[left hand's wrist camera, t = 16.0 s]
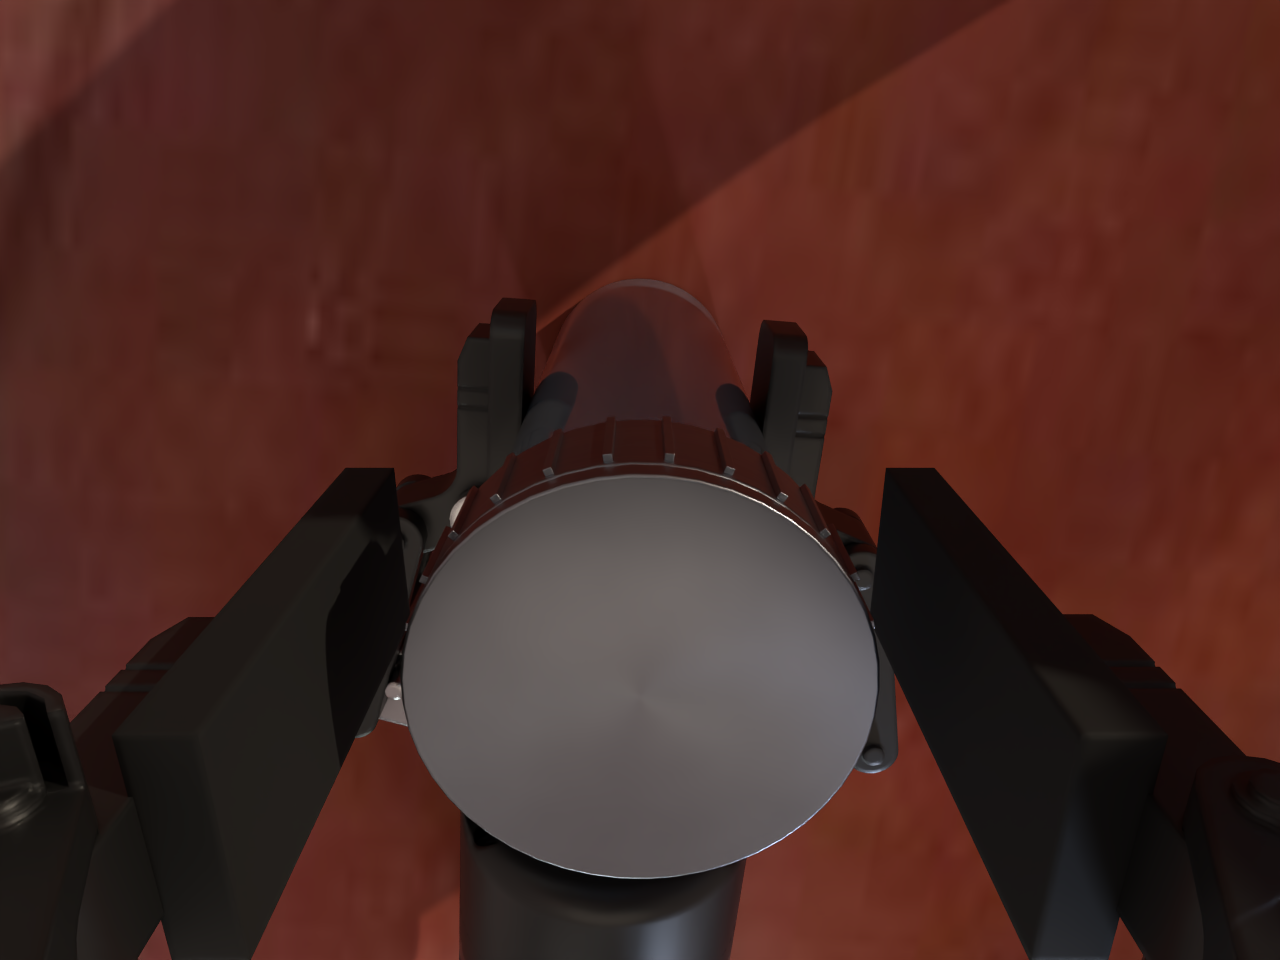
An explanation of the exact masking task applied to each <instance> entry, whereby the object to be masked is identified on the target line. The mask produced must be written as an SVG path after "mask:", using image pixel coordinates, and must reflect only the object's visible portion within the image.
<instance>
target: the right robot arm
mask: <svg viewBox="0 0 1280 960" xmlns="http://www.w3.org/2000/svg"><path fill="white" fill-rule="evenodd" d="M535 341H536V301H535V300H527V299H515V298H502V299H501V301H500V302H499V303H498V304H497V305H496V307H495V308H494V309H493V312H492V316H491V323H490V324H485V323H479V324H478V325H477V327H476V328H475V329H474V330H473V331H472V333H471V334H470V335H469V336H468V338H467V340H466V342H465V345H464V347H463V349H462V352H461V354H460V356H459V359H458V391H457V405H458V409H457V469H456V470H454V471H452V472H451V473H448V474H444V475H441V476H437V477H433V478H431V477H428V476H425V475H411V476H408V477H406V478H405V479H403V480H402V481H401V482H400V483H399V484H398V486H397V487H396V491H397V500H398V509H399V518H400V527H401V536H402V545H403V554H404V563H405V572H406V581H407V590H408V599H409V608H410V613H411V611H412V609H413V607H414V605H415V603H416V600H417V598H418V596H419V594H420V592H421V590H422V588H423V586H424V584H423V583H421V582H419V580H420V578H421V575H422V573H423V571H424V569H425V567H426V565H427V563H428V561H429V559H430V557H431V555H432V552H433V550H434V549H435V547H436V545H437V543H438V541H439V539H440V537H441V535H442V533H443V531H444V529H445V527H446V526H448V527H450V528H452V526H453V524H454V522H455V519H456V517H457V515H458V513H459V511H460V509H461V507H462V505H463V503H464V501H465V498H466V496H467V494H468V492H469V490H470V489H471V488H472V487H473V486H475V487H477V488H478V489H479V488H480V486H481V485H482V484H483V483H485V482H486V481H487V480H488V479H489V478H490V477H491V476H492V475H493V474H494V473H495V472H496V471H497V470H498V469H500V468H501V467H502V466H503V464H504V462H505V459H506V457H507V456H508V455H509V454H510V452H511V450H512V447H513V445H514V442H515V440H516V438H517V435H518V433H519V430H520V428H521V425H522V423H523V420H524V418H525V415H526V413H527V410H528V408H529V405H530V403H531V400H532V398H533V394H534V368H535ZM831 396H832V388H831V384H830V380H829V375H828V371H827V367H826V366H825V365H824V363H823V362H822V361H821V359H820V358H819V357H818V356H817V354H816V353H815V352H814V351H808V341H807V336H806V335H805V333H804V332H803V331H802V330H801V328H800V327H799V326H798V325H797V324H796V323H795V322H783V321H771V320H763V322H762V324H761V328H760V333H759V339H758V347H757V354H756V362H755V369H754V376H753V384H752V391H751V399H750V405H751V408H752V410H753V413H754V415H755V418H756V420H757V423H758V425H759V427H760V430H761V432H762V435H763V437H764V440H765V442H766V445H767V447H768V450H769V452H770V454H771V455H772V458H773V460H774V463H775V465H776V466H778V467H779V468H780V469H781V470H783V471H784V472H785V473H786V474H788V475H789V476H790V477H791V478H792V479H793V480H794V481H795V483H796V484H797V485H798V486H799V487H801V486H802V485H803V484H806V485H807V487H808V488H809V489H810V491H811V493H812V495H813V498H814V497H815V490H816V484H817V479H818V473H819V467H820V461H821V455H822V449H823V443H824V435H825V431H826V425H827V417H828V414H829V408H830V402H831ZM815 502H816V504H817V506H818V508H819V510H820V512H821V514H822V516H823V518H824V521H825V523H826V525H827V526H828V525H830V524H834V526H835V528H836V530H837V532H838V535H839V537H840V539H841V541H842V543H843V545H844V547H845V549H846V551H847V553H848V555H849V557H850V559H851V561H852V563H853V565H854V567H855V569H856V571H857V573H858V575H859V577H860V580H857V581H855V582H856V584H857V586H858V588H859V590H860V592H861V594H862V596H863V598H864V601H865V603H866V605H867V607H868V609H869V611H870V608H871V599H872V590H873V581H874V572H875V563H876V554H877V547H876V545H875V543H874V542H873V540H872V538H871V536H870V535H869V533H868V531H867V529H866V528H865V526H864V524H863V522H862V521H861V519H860V517H859V516H858V515H857V514H856V513H855V512H853V511H852V510H850V509H846V508H834V509H833V508H830V507H828V506H826V505H823V504H821V503H819V502H817V501H816V500H815ZM873 629H874V628H873ZM874 632H875V631H874ZM405 635H406V631H405V633H404V635H403V637H402V639H401V641H400V643H399V645H398V648H397V650H396V652H395V654H394V656H393V658H392V660H391V662H390V665H389V667H388V669H387V671H386V673H385V675H384V677H383V679H382V682H381V684H380V686H379V688H378V690H377V692H376V694H375V696H374V699H373V701H372V703H371V705H370V707H369V709H368V711H367V713H366V716H365V718H364V720H363V722H362V724H361V726H360V728H359V730H358V733H357V735H356V737H355V738H359V737H363V736H366V735H368V734H369V733H371V732H372V731H373V730H374V728H375V727H376V725H377V722H378V720H379V719H381V720H385V721H389V722H392V723H396V724H400V725H404V726H408V724H407V720H406V716H405V711H404V707H403V703H402V692H401V680H400V673H401V659H402V648H403V644H404V640H405ZM875 636H876V643H877V649H878V655H879V661H880V689H879V695H878V702H877V708H876V715H875V718H874V721H873V724H872V728H871V731H870V734H869V737H868V740H867V743H866V745H865V747H864V749H863V751H862V753H861V755H860V757H859V759H858V761H857V763H856V765H855V767H854V768H855V769H856V770H858V771H860V772H864V773H877V772H881V771H883V770H885V769H887V768H888V767H890V766H891V765H892V764H893V763H894V761H895V760H896V758H897V755H898V736H897V717H896V698H895V679H894V671H893V669H892V667H891V665H890V662H889V660H888V658H887V656H886V654H885V652H884V650H883V648H882V645H881V643H880V641H879V639H878V637H877V635H876V633H875ZM745 864H746V858H744V859H742V860H739V861H737V862H734V863H732V864H729V865H725V866H722V867H718V868H715V869H711V870H708V871H704V872H699V873H694V874H688V875H683V876H677V877H665V878H652V879H633V878H614V877H606V876H598V875H590V874H586V873H582V872H577V871H573V870H568V869H564V868H561V867H558V866H555V865H552V864H549V863H546V862H543V861H540V860H538V859H535V858H533V857H531V856H529V855H527V854H525V853H522V852H520V851H518V850H516V849H514V848H512V847H510V846H509V845H507V844H505V843H504V842H502V841H500V840H499V839H497V838H495V837H494V836H492V835H490V834H489V833H487V832H486V831H485V830H484V829H482V828H481V827H480V826H478V825H477V824H476V823H475V822H473V821H472V820H471V819H469V818H468V817H467V816H466V815H465V814H464V813H463V812H462V811H461V825H460V926H459V960H730V954H731V948H732V942H733V936H734V930H735V924H736V918H737V912H738V906H739V900H740V894H741V888H742V882H743V876H744V870H745Z"/></svg>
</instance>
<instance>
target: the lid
mask: <svg viewBox="0 0 1280 960" xmlns="http://www.w3.org/2000/svg"><path fill="white" fill-rule="evenodd" d="M857 580H860V577H859V575H858V573H857V571H856V569H855V567H854V565H853V563H852V561H851V559H850V557H849V555H848V553H847V551H846V549H845V547H844V545H843V543H842V541H841V539H840V537H839V535H838V532H837V530H836V528H835V526H834V524H830V525H828V526H827V525H826V523H825V521H824V518H823V516H822V514H821V512H820V510H819V508H818V506H817V504H816V502H815V500H814V498H813V495H812V493H811V491H810V489H809V488H808V487H807V485H806V484H803V485H802V486H801V487H799V486H798V485H797V484H796V483H795V481H794V480H793V479H792V478H791V477H790V476H789V475H788V474H786V473H785V472H784V471H783V470H781V469H780V468H779V467H778V466H776V465H775V463H774V460H773V458H772V455H771V454H770V453H768V452H767V451H764V452H763V454H762V455H761V454H759V453H758V452H756V451H754V450H753V449H751V448H749V447H748V446H746V445H744V444H742V443H740V442H738V441H735V440H733V439H731V438H728V437H726V435H725V432H724V430H723V429H720V428H716V430H715V432H713V431H709V430H706V429H702V428H699V427H695V426H692V425H687V424H681V423H674V422H671V417H668V416H662V421H660V420H624V421H616V419H615V416H612V417H607V420H606V422H603V423H599V424H594V425H590V426H586V427H581V428H577V429H573V430H570V431H568V432H565V433H563V431H562V429H558V430H555V431H554V432H553V435H552V437H551V438H549V439H546V440H545V441H543V442H541V443H539V444H537V445H535V446H533V447H531V448H529V449H527V450H525V451H523V452H522V453H520V454H519V455H518V456H516V455H515V454H514V453H513V452H512V453H511V454H509V455H508V456H507V457H506V459H505V462H504V464H503V466H502V467H501V468H500V469H498V470H497V471H496V472H495V473H494V474H493V475H492V476H491V477H490V478H489V479H488V480H487V481H486V482H485V483H483V484H482V485H481V486H480V488H479V489H478V488H477V487H475V486H473V487H472V488H471V489H470V490H469V492H468V494H467V496H466V498H465V501H464V503H463V505H462V507H461V509H460V511H459V513H458V515H457V517H456V519H455V522H454V524H453V526H452V528H450V527H448V526H446V527H445V529H444V531H443V533H442V535H441V537H440V539H439V541H438V543H437V545H436V547H435V549H434V551H433V553H432V555H431V557H430V559H429V561H428V563H427V565H426V567H425V569H424V571H423V573H422V575H421V578H420V580H419V582H421V583H423V584H424V586H423V588H422V590H421V592H420V594H419V596H418V598H417V600H416V603H415V605H414V607H413V609H412V611H411V613H410V615H409V617H408V619H407V621H406V624H405V631H406V635H405V640H404V644H403V648H402V659H401V673H400V680H401V692H402V703H403V707H404V711H405V716H406V720H407V724H408V728H409V731H410V734H411V736H412V739H413V741H414V744H415V746H416V748H417V751H418V753H419V755H420V757H421V759H422V761H423V762H424V764H425V766H426V767H427V769H428V771H429V773H430V774H431V776H432V778H433V779H434V780H435V781H436V783H437V784H438V785H439V787H440V788H441V789H442V790H443V792H444V793H445V794H446V796H447V797H448V798H449V799H450V800H451V801H452V802H453V803H454V804H455V805H456V806H457V807H458V808H459V809H460V810H461V811H462V812H463V813H464V814H465V815H466V816H467V817H468V818H469V819H471V820H472V821H473V822H475V823H476V824H477V825H478V826H480V827H481V828H482V829H484V830H485V831H486V832H487V833H489V834H490V835H492V836H494V837H495V838H497V839H499V840H500V841H502V842H504V843H505V844H507V845H509V846H510V847H512V848H514V849H516V850H518V851H520V852H522V853H525V854H527V855H529V856H531V857H533V858H535V859H538V860H540V861H543V862H546V863H549V864H552V865H555V866H558V867H561V868H564V869H568V870H573V871H577V872H582V873H586V874H590V875H598V876H606V877H614V878H633V879H652V878H665V877H677V876H683V875H688V874H694V873H699V872H704V871H708V870H711V869H715V868H718V867H722V866H725V865H729V864H732V863H734V862H737V861H739V860H742V859H744V858H747V857H749V856H751V855H754V854H756V853H758V852H760V851H762V850H764V849H766V848H768V847H769V846H771V845H773V844H775V843H777V842H779V841H781V840H782V839H784V838H785V837H786V836H788V835H789V834H791V833H792V832H794V831H795V830H797V829H798V828H799V827H801V826H802V825H804V824H805V823H806V822H807V821H808V820H809V819H810V818H812V817H813V816H814V815H815V814H816V813H817V812H818V811H819V810H821V809H822V808H823V807H824V806H825V805H826V803H827V802H828V801H829V800H830V799H831V798H832V797H833V795H834V794H835V793H836V792H837V791H838V790H839V789H840V787H841V786H842V785H843V783H844V782H845V780H846V779H847V777H848V776H849V774H850V773H851V771H852V770H853V768H854V767H855V765H856V763H857V761H858V759H859V757H860V755H861V753H862V751H863V749H864V747H865V745H866V743H867V740H868V737H869V734H870V731H871V728H872V724H873V721H874V718H875V715H876V708H877V702H878V695H879V689H880V661H879V655H878V649H877V643H876V636H875V632H874V629H873V628H875V622H874V619H873V617H872V615H871V613H870V611H869V609H868V607H867V605H866V603H865V601H864V598H863V596H862V594H861V592H860V590H859V588H858V586H857V584H856V582H855V581H857Z"/></svg>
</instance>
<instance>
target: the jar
mask: <svg viewBox="0 0 1280 960" xmlns="http://www.w3.org/2000/svg"><path fill="white" fill-rule="evenodd" d="M612 416H615V419H616V421H624V420H660V421H662V416H668V417H671V422H674V423H681V424H687V425H692V426H695V427H699V428H702V429H706V430H709V431H713V432H715V430H716V428H720V429H723V430H724V432H725V435H726V437H728V438H731V439H733V440H735V441H738V442H740V443H742V444H744V445H746V446H748V447H749V448H751V449H753V450H754V451H756V452H758V453H759V454H761V455H762V454H763V452H764V451H767V452H768V453H770V452H769V450H768V447H767V445H766V442H765V440H764V437H763V435H762V432H761V430H760V427H759V425H758V423H757V420H756V418H755V415H754V413H753V410H752V408H751V405H750V403H749V400H748V398H747V395H746V393H745V391H744V388H743V386H742V383H741V381H740V378H739V376H738V373H737V371H736V368H735V366H734V364H733V361H732V359H731V356H730V354H729V351H728V349H727V346H726V344H725V341H724V339H723V337H722V334H721V332H720V330H719V328H718V326H717V324H716V322H715V320H714V319H713V317H712V316H711V314H710V313H709V311H708V310H707V309H706V308H705V307H704V306H703V305H702V304H701V303H700V302H699V301H698V300H697V299H695V298H694V297H693V296H692V295H690V294H689V293H687V292H685V291H684V290H682V289H680V288H678V287H676V286H674V285H671V284H668V283H665V282H662V281H657V280H651V279H629V280H623V281H618V282H614V283H611V284H609V285H606V286H604V287H601V288H600V289H598V290H596V291H594V292H592V293H591V294H589V295H588V296H587V297H585V298H584V299H583V300H582V301H581V302H580V303H579V304H578V305H577V306H576V307H575V308H574V309H573V310H572V311H571V313H570V314H569V315H568V316H567V318H566V320H565V321H564V323H563V325H562V327H561V329H560V331H559V334H558V336H557V338H556V341H555V343H554V346H553V348H552V351H551V353H550V356H549V358H548V361H547V363H546V366H545V368H544V371H543V373H542V376H541V378H540V381H539V383H538V386H537V388H536V390H535V393H534V395H533V398H532V400H531V403H530V405H529V408H528V410H527V413H526V415H525V418H524V420H523V423H522V425H521V428H520V430H519V433H518V435H517V438H516V440H515V442H514V445H513V447H512V450H511V452H510V454H511V453H512V452H513V453H514V454H515V455H516V456H518V455H519V454H520V453H522V452H523V451H525V450H527V449H529V448H531V447H533V446H535V445H537V444H539V443H541V442H543V441H545V440H546V439H549V438H551V437H552V435H553V432H554V431H555V430H558V429H562V431H563V433H565V432H568V431H570V430H573V429H577V428H581V427H586V426H590V425H594V424H599V423H603V422H606V420H607V417H612Z"/></svg>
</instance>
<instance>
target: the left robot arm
mask: <svg viewBox="0 0 1280 960" xmlns="http://www.w3.org/2000/svg"><path fill="white" fill-rule="evenodd" d="M870 613H871V615H872V617H873V619H874V622H875V628H874V631H875V633H876V635H877V637H878V639H879V641H880V643H881V645H882V648H883V650H884V652H885V654H886V656H887V658H888V660H889V662H890V665H891V667H892V669H893V671H894V673H895V675H896V677H897V679H898V682H899V684H900V686H901V688H902V690H903V692H904V694H905V696H906V699H907V701H908V703H909V705H910V707H911V709H912V711H913V713H914V716H915V718H916V720H917V722H918V724H919V726H920V728H921V730H922V733H923V735H924V737H925V739H926V741H927V743H928V745H929V747H930V750H931V752H932V754H933V756H934V758H935V760H936V762H937V765H938V767H939V769H940V771H941V773H942V775H943V777H944V779H945V782H946V784H947V786H948V788H949V790H950V792H951V794H952V796H953V799H954V801H955V803H956V805H957V807H958V809H959V811H960V813H961V816H962V818H963V820H964V822H965V824H966V826H967V828H968V830H969V833H970V835H971V837H972V839H973V841H974V843H975V845H976V847H977V850H978V852H979V854H980V856H981V858H982V860H983V862H984V864H985V867H986V869H987V871H988V873H989V875H990V877H991V879H992V881H993V884H994V886H995V888H996V890H997V892H998V894H999V896H1000V898H1001V901H1002V903H1003V905H1004V907H1005V909H1006V911H1007V913H1008V915H1009V918H1010V920H1011V922H1012V924H1013V926H1014V928H1015V930H1016V932H1017V935H1018V937H1019V939H1020V941H1021V943H1022V945H1023V947H1024V949H1025V952H1026V954H1027V956H1028V958H1029V960H1108V958H1109V955H1110V951H1111V947H1112V944H1113V940H1114V936H1115V932H1116V929H1117V925H1118V921H1119V918H1121V919H1122V921H1123V922H1124V924H1125V926H1126V927H1127V929H1128V931H1129V932H1130V934H1131V936H1132V937H1133V939H1134V940H1135V942H1136V944H1137V945H1138V947H1139V949H1140V950H1141V952H1142V954H1143V957H1142V960H1280V763H1278V762H1275V761H1272V760H1268V759H1265V758H1258V757H1249V756H1246V755H1245V754H1244V753H1243V752H1242V751H1241V750H1240V749H1239V748H1238V747H1237V746H1236V745H1235V744H1234V743H1233V742H1232V741H1231V740H1230V739H1229V738H1228V737H1227V736H1226V735H1225V734H1224V733H1223V732H1222V731H1221V729H1220V728H1219V727H1218V726H1217V725H1216V724H1215V723H1214V722H1213V721H1212V720H1211V719H1210V718H1209V717H1208V716H1207V715H1206V714H1205V713H1204V712H1203V711H1202V710H1201V709H1200V708H1199V707H1198V706H1197V705H1196V704H1195V703H1194V702H1193V701H1192V700H1191V699H1190V698H1189V697H1188V696H1187V694H1186V693H1185V692H1184V691H1183V690H1182V689H1176V686H1175V682H1174V681H1173V680H1172V679H1171V678H1170V677H1169V676H1168V675H1167V674H1166V673H1165V672H1164V671H1163V670H1162V669H1161V668H1160V667H1155V662H1154V661H1153V659H1152V658H1151V657H1150V656H1149V655H1148V654H1147V653H1146V652H1145V651H1144V650H1143V649H1142V648H1141V647H1140V646H1139V645H1138V644H1137V643H1136V642H1135V641H1134V640H1133V639H1132V638H1131V637H1130V636H1129V635H1127V634H1125V633H1123V632H1122V631H1120V630H1118V629H1117V628H1115V627H1113V626H1111V625H1110V624H1108V623H1106V622H1105V621H1103V620H1101V619H1099V618H1098V617H1096V616H1094V615H1093V614H1062V613H1061V612H1060V611H1059V610H1058V609H1057V607H1056V606H1055V605H1054V604H1053V603H1052V602H1051V601H1050V599H1049V598H1048V597H1047V596H1046V595H1045V594H1044V593H1043V591H1042V590H1041V589H1040V588H1039V587H1038V586H1037V585H1036V583H1035V582H1034V581H1033V580H1032V579H1031V578H1030V577H1029V575H1028V574H1027V573H1026V572H1025V571H1024V570H1023V569H1022V567H1021V566H1020V565H1019V564H1018V563H1017V562H1016V561H1015V559H1014V558H1013V557H1012V556H1011V555H1010V554H1009V553H1008V551H1007V550H1006V549H1005V548H1004V547H1003V546H1002V545H1001V543H1000V542H999V541H998V540H997V539H996V538H995V537H994V536H993V534H992V533H991V532H990V531H989V530H988V529H987V528H986V526H985V525H984V524H983V523H982V522H981V521H980V520H979V518H978V517H977V516H976V515H975V514H974V513H973V512H972V510H971V509H970V508H969V507H968V506H967V505H966V504H965V502H964V501H963V500H962V499H961V498H960V497H959V496H958V494H957V493H956V492H955V491H954V490H953V489H952V488H951V486H950V485H949V484H948V483H947V482H946V481H945V480H944V478H943V477H942V476H941V475H940V474H939V473H938V472H937V470H936V469H935V468H886V473H885V482H884V491H883V500H882V509H881V518H880V527H879V536H878V545H877V554H876V563H875V572H874V581H873V590H872V599H871V608H870ZM409 615H410V608H409V599H408V590H407V581H406V572H405V563H404V554H403V545H402V536H401V527H400V518H399V509H398V500H397V491H396V482H395V473H394V468H345V469H344V470H343V472H342V473H341V474H340V475H339V476H338V477H337V478H336V480H335V481H334V482H333V483H332V484H331V485H330V486H329V488H328V489H327V490H326V491H325V492H324V493H323V494H322V496H321V497H320V498H319V499H318V500H317V501H316V502H315V504H314V505H313V506H312V507H311V508H310V509H309V510H308V512H307V513H306V514H305V515H304V516H303V517H302V518H301V520H300V521H299V522H298V523H297V524H296V525H295V526H294V528H293V529H292V530H291V531H290V532H289V533H288V534H287V536H286V537H285V538H284V539H283V540H282V541H281V542H280V543H279V545H278V546H277V547H276V548H275V549H274V550H273V551H272V553H271V554H270V555H269V556H268V557H267V558H266V559H265V561H264V562H263V563H262V564H261V565H260V566H259V567H258V569H257V570H256V571H255V572H254V573H253V574H252V575H251V577H250V578H249V579H248V580H247V581H246V582H245V583H244V585H243V586H242V587H241V588H240V589H239V590H238V591H237V593H236V594H235V595H234V596H233V597H232V598H231V599H230V601H229V602H228V603H227V604H226V605H225V606H224V607H223V609H222V610H221V611H220V612H219V613H218V614H217V615H216V617H188V618H186V619H184V620H183V621H181V622H179V623H178V624H176V625H174V626H172V627H171V628H169V629H167V630H166V631H164V632H162V633H160V634H159V635H157V636H155V637H154V638H152V639H150V641H149V642H148V643H147V644H146V645H145V646H144V647H143V648H142V649H141V650H140V651H139V652H138V653H137V654H136V655H135V656H134V657H133V658H132V659H131V660H130V661H129V662H128V663H127V664H126V670H121V671H120V672H119V673H118V674H117V675H116V676H115V677H114V678H113V679H112V680H111V681H110V682H109V683H108V684H107V685H106V686H105V688H106V689H105V692H99V693H98V694H97V695H96V697H95V698H94V699H93V700H92V701H91V702H90V703H89V704H88V705H87V706H86V707H85V708H84V709H83V710H82V711H81V712H80V713H79V714H78V715H77V716H76V717H75V718H74V719H73V720H72V721H71V722H69V719H68V715H67V712H66V708H65V705H64V702H63V698H62V695H61V694H60V693H58V692H57V691H55V690H54V689H52V688H51V687H49V686H48V685H40V684H32V683H25V682H21V683H12V684H2V685H0V960H138V957H139V955H140V953H141V952H142V950H143V948H144V947H145V945H146V943H147V942H148V940H149V939H150V937H151V935H152V934H153V932H154V930H155V929H156V927H157V925H158V924H159V922H160V920H161V921H162V925H163V929H164V932H165V936H166V940H167V944H168V947H169V951H170V955H171V958H172V960H251V958H252V956H253V954H254V952H255V949H256V947H257V945H258V943H259V941H260V939H261V937H262V935H263V932H264V930H265V928H266V926H267V924H268V922H269V920H270V918H271V915H272V913H273V911H274V909H275V907H276V905H277V903H278V901H279V898H280V896H281V894H282V892H283V890H284V888H285V886H286V884H287V881H288V879H289V877H290V875H291V873H292V871H293V869H294V867H295V864H296V862H297V860H298V858H299V856H300V854H301V852H302V850H303V847H304V845H305V843H306V841H307V839H308V837H309V835H310V833H311V830H312V828H313V826H314V824H315V822H316V820H317V818H318V816H319V813H320V811H321V809H322V807H323V805H324V803H325V801H326V799H327V796H328V794H329V792H330V790H331V788H332V786H333V784H334V782H335V779H336V777H337V775H338V773H339V771H340V769H341V767H342V764H343V762H344V760H345V758H346V756H347V754H348V752H349V750H350V747H351V745H352V743H353V741H354V739H355V737H356V735H357V733H358V730H359V728H360V726H361V724H362V722H363V720H364V718H365V716H366V713H367V711H368V709H369V707H370V705H371V703H372V701H373V699H374V696H375V694H376V692H377V690H378V688H379V686H380V684H381V682H382V679H383V677H384V675H385V673H386V671H387V669H388V667H389V665H390V662H391V660H392V658H393V656H394V654H395V652H396V650H397V648H398V645H399V643H400V641H401V639H402V637H403V635H404V633H405V624H406V621H407V619H408V617H409Z"/></svg>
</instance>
